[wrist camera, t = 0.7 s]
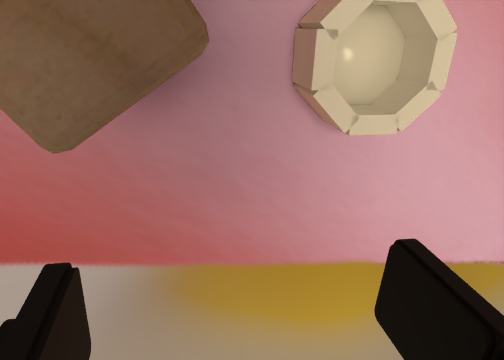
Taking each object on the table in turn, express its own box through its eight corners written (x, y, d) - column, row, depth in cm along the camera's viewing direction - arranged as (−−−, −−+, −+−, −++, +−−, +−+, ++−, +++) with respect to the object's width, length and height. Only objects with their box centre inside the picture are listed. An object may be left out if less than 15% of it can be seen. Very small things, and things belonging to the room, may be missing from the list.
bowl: (299, -22, 34) (322, -31, 29) (427, -14, 37) (470, -20, 31) (288, 121, 40) (307, 136, 34) (400, 119, 42) (433, 132, 37)
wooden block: (123, -73, 30) (47, -223, 12) (195, 34, 34) (220, 42, 16) (32, -1, 30) (-172, -40, 12) (114, 95, 35) (50, 168, 17)
